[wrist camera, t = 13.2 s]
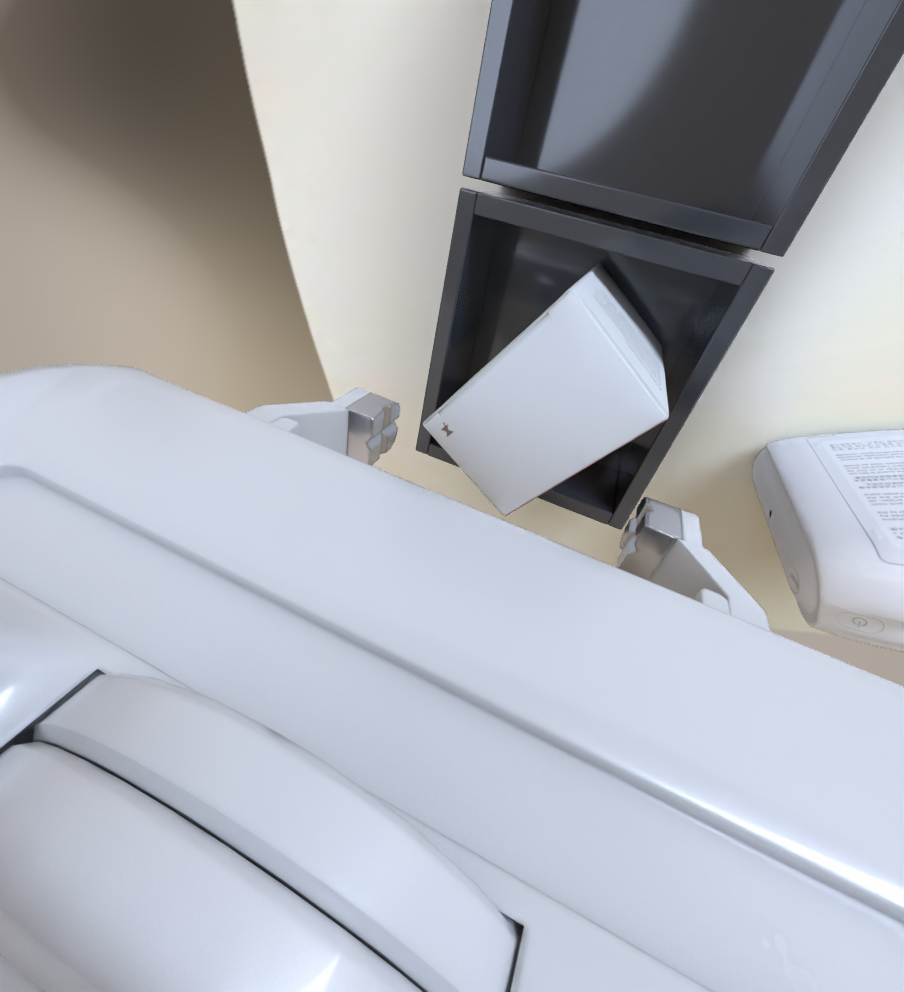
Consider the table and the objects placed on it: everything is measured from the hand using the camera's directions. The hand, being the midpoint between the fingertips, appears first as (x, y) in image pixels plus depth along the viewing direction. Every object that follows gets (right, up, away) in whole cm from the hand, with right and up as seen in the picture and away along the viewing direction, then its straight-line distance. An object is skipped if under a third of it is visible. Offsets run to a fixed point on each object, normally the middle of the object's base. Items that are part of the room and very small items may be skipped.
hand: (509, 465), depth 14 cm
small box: (+5, +7, +11) cm, 14 cm away
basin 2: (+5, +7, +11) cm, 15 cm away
